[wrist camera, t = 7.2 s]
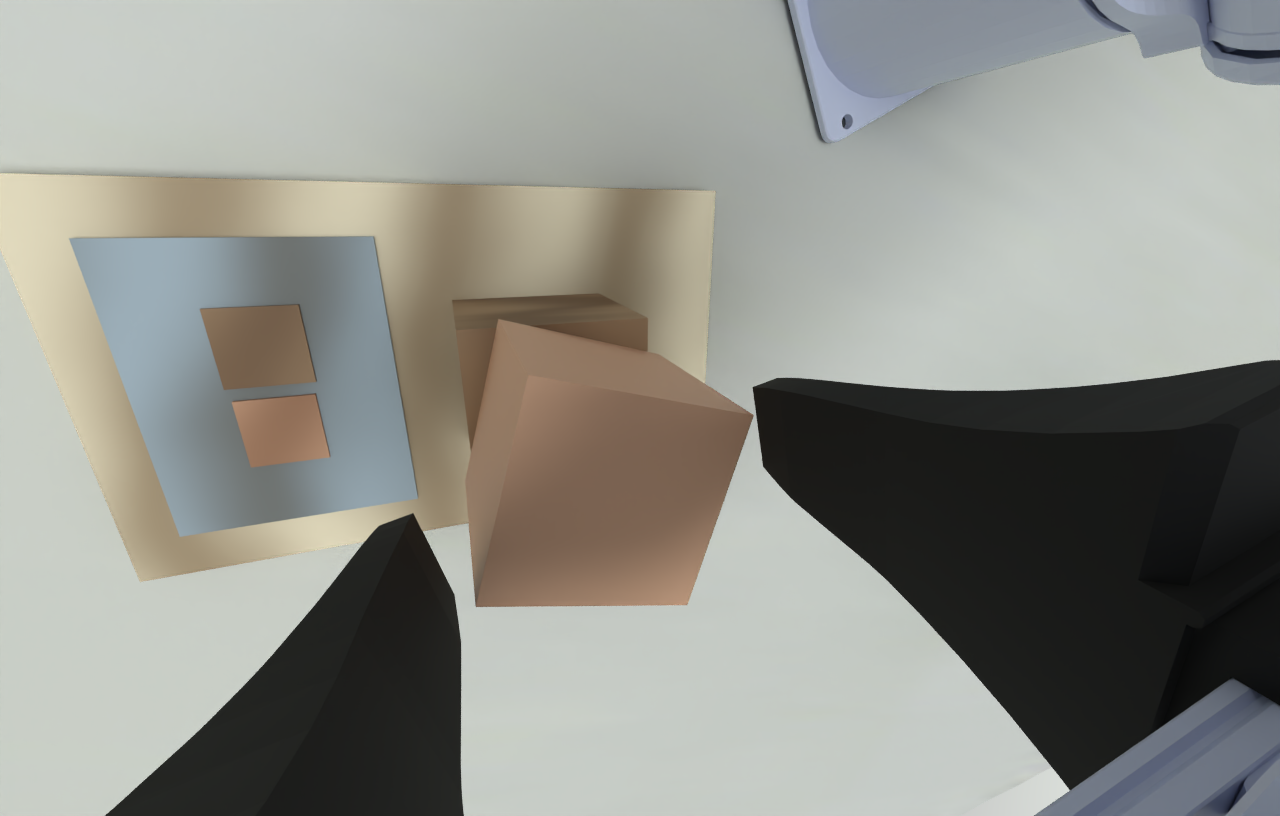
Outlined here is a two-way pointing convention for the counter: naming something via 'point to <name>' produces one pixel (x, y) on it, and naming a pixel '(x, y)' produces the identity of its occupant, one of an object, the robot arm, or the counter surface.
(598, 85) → the counter surface
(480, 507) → the terracotta block
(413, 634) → the robot arm
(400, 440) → the baseplate
